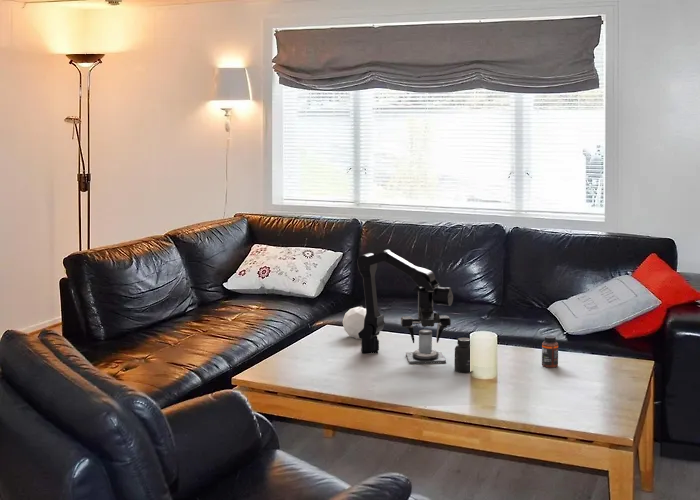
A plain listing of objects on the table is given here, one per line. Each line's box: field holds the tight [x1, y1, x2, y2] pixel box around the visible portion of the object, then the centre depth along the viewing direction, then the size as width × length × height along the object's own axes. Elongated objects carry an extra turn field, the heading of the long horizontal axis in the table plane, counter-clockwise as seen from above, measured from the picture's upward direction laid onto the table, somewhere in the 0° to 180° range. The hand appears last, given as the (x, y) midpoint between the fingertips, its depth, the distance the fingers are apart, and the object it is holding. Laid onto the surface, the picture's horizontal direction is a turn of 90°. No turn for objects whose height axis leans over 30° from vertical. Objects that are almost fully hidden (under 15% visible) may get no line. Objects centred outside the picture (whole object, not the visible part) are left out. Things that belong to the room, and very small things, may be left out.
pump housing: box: [418, 329, 433, 353], centre depth 317 cm, size 5×5×8 cm
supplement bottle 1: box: [453, 337, 471, 374], centre depth 302 cm, size 7×7×12 cm
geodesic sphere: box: [342, 305, 366, 340], centre depth 350 cm, size 14×14×14 cm
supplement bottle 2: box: [541, 334, 559, 369], centre depth 306 cm, size 6×6×11 cm
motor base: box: [405, 348, 447, 365], centre depth 318 cm, size 14×12×3 cm
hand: (425, 342), depth 317 cm, fingers open, 9 cm apart
